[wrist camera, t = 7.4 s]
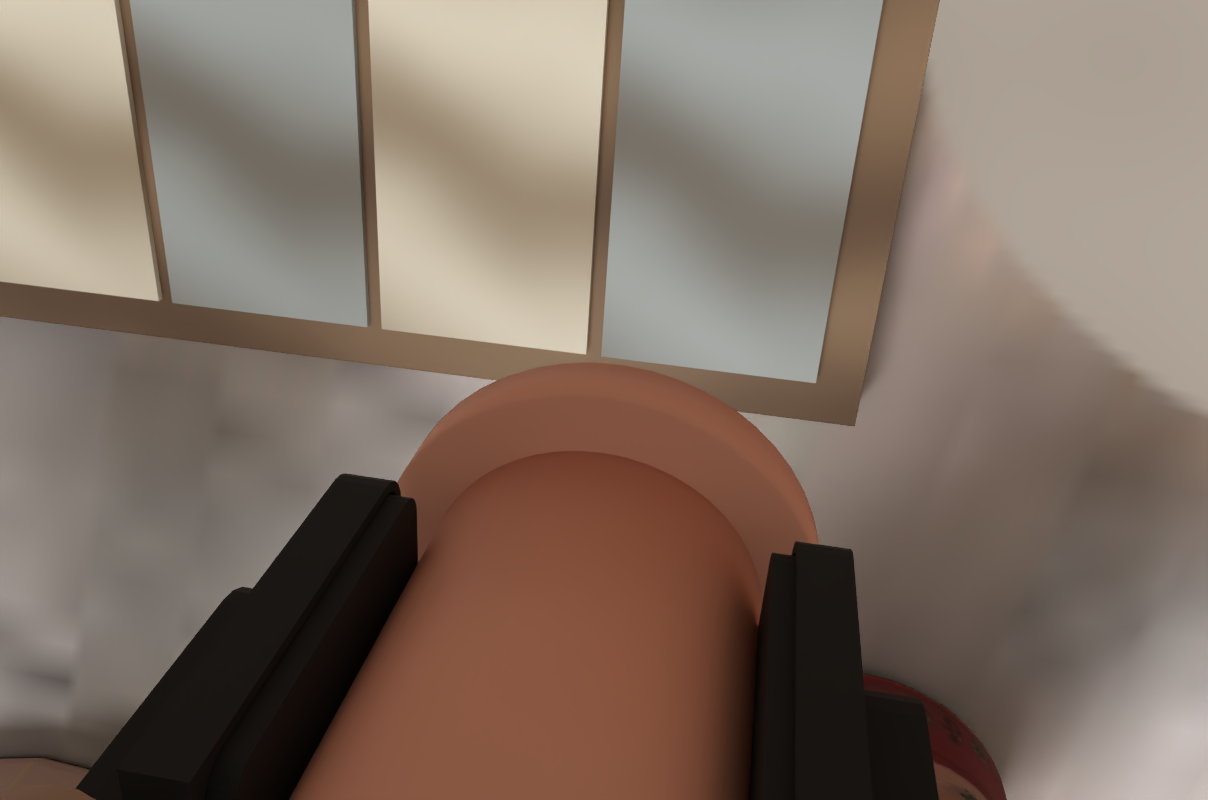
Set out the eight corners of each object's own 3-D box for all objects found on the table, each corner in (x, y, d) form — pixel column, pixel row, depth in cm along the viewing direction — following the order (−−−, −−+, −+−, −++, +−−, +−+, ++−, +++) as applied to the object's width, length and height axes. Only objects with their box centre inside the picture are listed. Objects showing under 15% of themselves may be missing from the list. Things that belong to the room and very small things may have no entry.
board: (-136, -158, 26) (-176, -159, 24) (947, -76, 23) (955, -74, 22) (-28, 297, 31) (-57, 312, 30) (852, 408, 28) (854, 430, 27)
